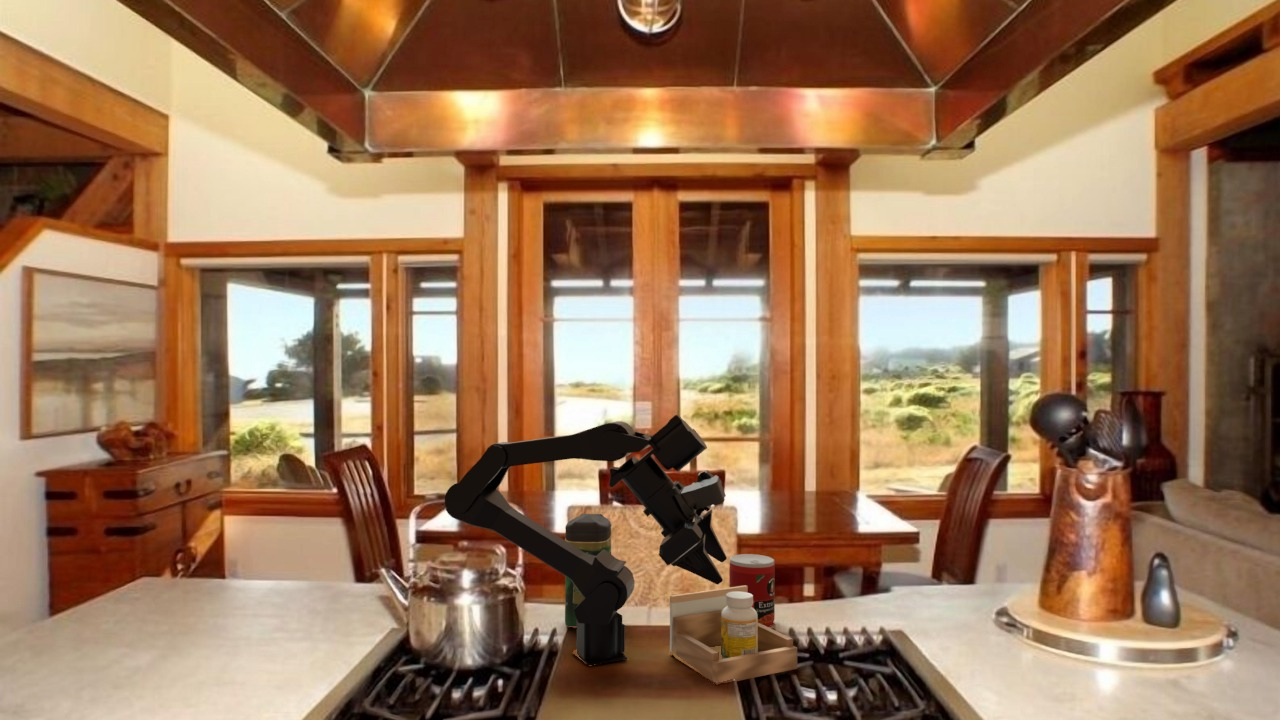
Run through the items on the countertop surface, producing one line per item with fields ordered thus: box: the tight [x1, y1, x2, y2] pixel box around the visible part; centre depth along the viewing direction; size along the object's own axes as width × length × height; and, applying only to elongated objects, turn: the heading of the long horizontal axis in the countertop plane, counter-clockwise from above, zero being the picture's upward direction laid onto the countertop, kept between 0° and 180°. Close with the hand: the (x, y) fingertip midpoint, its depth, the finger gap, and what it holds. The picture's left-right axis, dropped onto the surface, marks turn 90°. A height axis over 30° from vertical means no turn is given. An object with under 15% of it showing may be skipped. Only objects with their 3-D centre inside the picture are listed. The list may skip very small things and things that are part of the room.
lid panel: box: [669, 585, 748, 652], centre depth 119 cm, size 14×1×9 cm, turn 117°
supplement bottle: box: [721, 591, 758, 659], centre depth 112 cm, size 5×5×10 cm
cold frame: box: [673, 607, 798, 683], centre depth 113 cm, size 14×12×6 cm
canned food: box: [728, 553, 776, 628], centre depth 133 cm, size 8×8×11 cm
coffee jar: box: [564, 513, 612, 628], centre depth 131 cm, size 10×8×19 cm
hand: (722, 571), depth 114 cm, fingers open, 9 cm apart
